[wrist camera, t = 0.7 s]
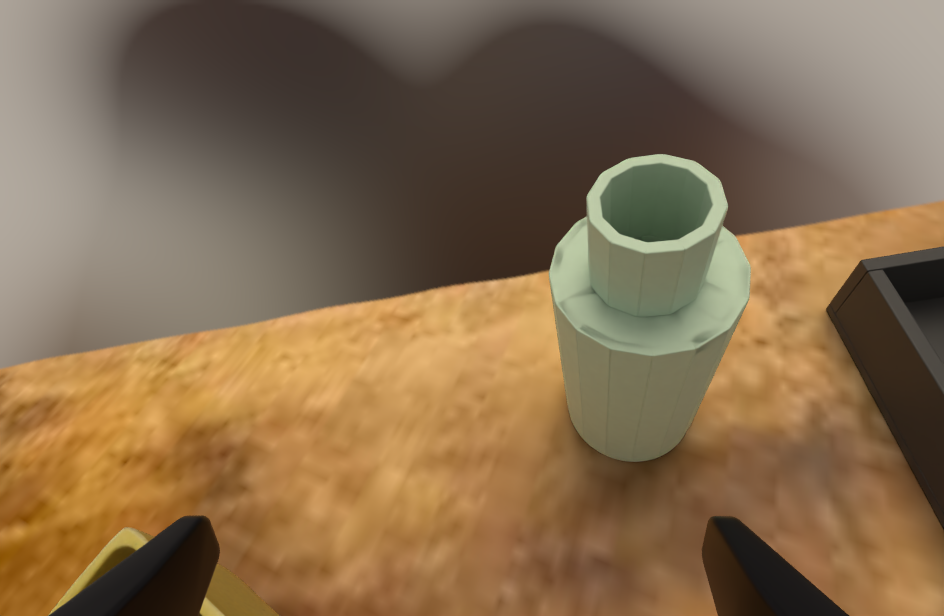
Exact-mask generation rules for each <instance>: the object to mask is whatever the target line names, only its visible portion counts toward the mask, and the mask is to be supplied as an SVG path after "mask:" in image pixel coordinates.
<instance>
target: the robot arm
mask: <svg viewBox="0 0 944 616" xmlns="http://www.w3.org/2000/svg"><path fill="white" fill-rule="evenodd" d="M219 554H220V548H219V543H218V541H217V538H216V535H215V533H214V530H213V527H212V525H211V522H210V520H209V519H208V518H207V517H206V516H184V517H182V518H180V519H178V520H177V521H176V522H174V523H173V524H172V525H170V526H169V527H167V528H166V529H165V530H163V531H162V532H161V533H159V534H158V535H157V536H155V537H154V538H153V539H151V540H150V541H149V542H147V543H146V544H144V545H143V546H142V547H140V548H139V549H138V550H136V551H135V552H134V553H132V554H131V555H130V556H128V557H127V558H126V559H124V560H123V561H121V562H120V563H119V564H117V565H116V566H115V567H113V568H112V569H111V570H109V571H108V572H107V573H105V574H104V575H103V576H101V577H100V578H99V579H97V580H96V581H94V582H93V583H92V584H90V585H89V586H88V587H86V588H85V589H84V590H82V591H81V592H80V593H78V594H77V595H76V596H74V597H73V598H71V599H70V600H69V601H67V602H66V603H65V604H63V605H62V606H61V607H59V608H58V609H57V610H55V611H54V612H53V613H51V614H50V615H48V616H198V615H199V613H200V610H201V607H202V604H203V601H204V599H205V596H206V593H207V590H208V588H209V585H210V582H211V579H212V576H213V574H214V571H215V568H216V565H217V562H218V559H219ZM702 558H703V563H704V567H705V571H706V574H707V578H708V581H709V585H710V588H711V592H712V595H713V599H714V603H715V606H716V610H717V613H718V616H849V615H848V614H846V613H845V612H844V611H843V610H842V609H841V608H840V607H838V606H837V605H836V604H835V603H834V602H833V601H832V600H830V599H829V598H828V597H827V596H826V595H825V594H824V593H822V592H821V591H820V590H819V589H818V588H817V587H816V586H814V585H813V584H812V583H811V582H810V581H809V580H808V579H806V578H805V577H804V576H803V575H802V574H801V573H800V572H798V571H797V570H796V569H795V568H794V567H793V566H791V565H790V564H789V563H788V562H787V561H786V560H785V559H783V558H782V557H781V556H780V555H779V554H778V553H777V552H775V551H774V550H773V549H772V548H771V547H770V546H769V545H767V544H766V543H765V542H764V541H763V540H762V539H761V538H759V537H758V536H757V535H756V534H755V533H754V532H753V531H751V530H750V529H749V528H748V527H747V526H746V525H745V524H743V523H742V522H741V521H740V520H739V519H737V518H735V517H731V516H713V517H711V518H710V519H709V521H708V524H707V528H706V533H705V538H704V542H703V547H702Z"/></svg>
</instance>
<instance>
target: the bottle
mask: <svg viewBox="0 0 944 616" xmlns="http://www.w3.org/2000/svg"><path fill="white" fill-rule="evenodd" d="M727 209H728V204H727V200H726V197H725V194H724V191H723V188H722V185H721V181H719V179H718V178H717V177H715V176H714V175H713V174H711V173H710V172H709V171H708V170H706V169H705V168H704V167H702V166H701V165H700V164H698V163H697V162H695V161H691V160H686V159H682V158H678V157H674V156H669V155H664V154H663V155H662V154H658V155H651V156H643V157H636V158H629V159H627V160H625V161H623V162H621V163H619V164H617V165H616V166H614V167H612V168H610V169H608V170H606V171H605V172H603V173H602V174H601V175H600V176H599V178H598V179H597V181H596V183H595V184H594V186H593V187H592V189H591V190H590V192H589V193H588V195H587V217H585V218H583V219H582V220H580V221H578V222H577V223H576V224H575V225H574V226H573V227H572V228H571V229H570V230H569V232H568V233H567V234H566V235H565V236H564V238H563V239H562V240H561V241H560V242H559V243H558V245H557V246H556V249H555V253H554V256H553V260H552V264H551V267H550V271H549V280H550V287H551V294H552V301H553V308H554V315H555V322H556V329H557V336H558V343H559V350H560V357H561V364H562V371H563V378H564V385H565V392H566V399H567V404H568V409H569V414H570V418H571V421H572V423H573V425H574V427H575V429H576V430H577V432H578V433H579V435H580V436H581V437H582V438H583V440H584V441H585V442H587V443H588V444H589V445H590V446H591V447H592V448H594V449H595V450H597V451H598V452H600V453H602V454H604V455H606V456H608V457H610V458H614V459H617V460H622V461H629V462H640V461H647V460H652V459H655V458H658V457H660V456H662V455H664V454H666V453H668V452H669V451H670V450H672V449H673V448H674V447H675V446H676V445H677V444H678V443H679V442H680V441H681V440H682V438H683V437H684V435H685V433H686V431H687V430H688V428H689V427H690V425H691V423H692V421H693V419H694V417H695V415H696V413H697V410H698V408H699V406H700V404H701V402H702V400H703V397H704V395H705V393H706V391H707V389H708V387H709V385H710V382H711V380H712V378H713V376H714V374H715V372H716V369H717V367H718V365H719V363H720V361H721V359H722V357H723V354H724V352H725V350H726V348H727V346H728V344H729V341H730V339H731V337H732V335H733V333H734V331H735V329H736V326H737V324H738V322H739V320H740V318H741V316H742V313H743V311H744V309H745V307H746V305H747V303H748V301H749V295H750V273H751V267H750V264H749V262H748V260H747V258H746V256H745V254H744V252H743V250H742V248H741V246H740V244H739V242H738V240H737V238H736V237H735V236H734V235H733V234H732V233H730V232H729V231H728V230H727V229H726V228H725V227H723V226H722V225H723V222H724V219H725V216H726V212H727Z"/></svg>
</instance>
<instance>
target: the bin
mask: <svg viewBox="0 0 944 616" xmlns="http://www.w3.org/2000/svg"><path fill="white" fill-rule="evenodd" d="M826 310H827V311H828V313H829V315H830V317H831V319H832V321H833V323H834V325H835V326H836V328H837V330H838V332H839V334H840V336H841V338H842V339H843V341H844V343H845V345H846V347H847V349H848V351H849V353H850V354H851V356H852V358H853V360H854V362H855V364H856V366H857V368H858V369H859V371H860V373H861V375H862V377H863V379H864V381H865V382H866V384H867V386H868V388H869V390H870V392H871V394H872V396H873V397H874V399H875V401H876V403H877V405H878V407H879V409H880V410H881V412H882V414H883V416H884V418H885V420H886V422H887V424H888V425H889V427H890V429H891V431H892V433H893V435H894V437H895V438H896V440H897V442H898V444H899V446H900V448H901V450H902V452H903V453H904V455H905V457H906V459H907V461H908V463H909V465H910V466H911V468H912V470H913V472H914V474H915V476H916V478H917V480H918V481H919V483H920V485H921V487H922V489H923V491H924V493H925V494H926V496H927V498H928V500H929V502H930V504H931V506H932V508H933V509H934V511H935V513H936V515H937V517H938V519H939V521H940V523H941V524H942V526H943V528H944V247H939V248H932V249H926V250H920V251H914V252H908V253H902V254H896V255H890V256H884V257H878V258H872V259H866V260H861V261H860V262H859V264H858V265H857V267H856V268H855V269H854V271H853V272H852V273H851V275H850V276H849V278H848V279H847V280H846V282H845V283H844V285H843V286H842V287H841V289H840V290H839V291H838V293H837V294H836V296H835V297H834V298H833V300H832V301H831V303H830V304H829V305H828V307H827V308H826Z"/></svg>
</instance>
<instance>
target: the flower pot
mask: <svg viewBox="0 0 944 616" xmlns="http://www.w3.org/2000/svg"><path fill="white" fill-rule="evenodd" d="M153 538H154V536H151V535H149V534H146V533H144V532H142V531H139V530H137V529H134V528H130V527H126V528H124V529H122V530H121V531H120V532H119V533H118V534H117V535H116V536H115V537H114V538H113V539H112V540H111V541H110V542H109V543H108V544H107V545H106V546H105V547H104V548H103V550H102V551H101V552H100V553H99V555H98V556H97V557H96V558H95V559H94V560H93V562H92V563H91V564H90V565H89V566H88V567H87V568H86V570H85V571H84V572H83V573H82V574H81V575H80V577H79V578H78V579H77V580H76V581H75V583H74V584H73V585H72V586H71V588H70V589H69V590H68V591H67V592H66V594H65V595H64V596H63V597H62V599H61V600H60V601H59V603H58V604H57V605H56V606H55V608H54V609H53V610H52V611H51V612H50V614H51V613H53V612H54V611H55V610H57V609H58V608H59V607H61V606H62V605H63V604H65V603H66V602H67V601H69V600H70V599H71V598H73V597H74V596H76V595H77V594H78V593H80V592H81V591H82V590H84V589H85V588H86V587H88V586H89V585H90V584H92V583H93V582H94V581H96V580H97V579H99V578H100V577H101V576H103V575H104V574H105V573H107V572H108V571H109V570H111V569H112V568H113V567H115V566H116V565H117V564H119V563H120V562H121V561H123V560H124V559H126V558H127V557H128V556H130V555H131V554H132V553H134V552H135V551H136V550H138V549H139V548H140V547H142V546H143V545H144V544H146V543H147V542H149V541H150V540H151V539H153ZM50 614H49V615H50ZM198 616H280V615H278V614H277V613H276V612H275V611H274V610H273V609H272V608H271V607H270V606H269V605H268V604H267V603H265V602H264V601H263V600H262V599H261V598H260V597H259V596H258V595H257V594H256V593H255V592H254V591H253V590H252V589H251V588H250V587H248V586H247V585H246V584H245V583H244V582H243V581H242V580H241V579H239V578H238V577H237V576H236V575H234V574H233V573H232V572H231V571H229V570H228V569H226V568H225V567H223V566H221V565H220V564H218V563H217V565H216V568H215V571H214V574H213V576H212V579H211V582H210V585H209V588H208V590H207V593H206V596H205V599H204V601H203V604H202V607H201V610H200V613H199V615H198Z"/></svg>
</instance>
